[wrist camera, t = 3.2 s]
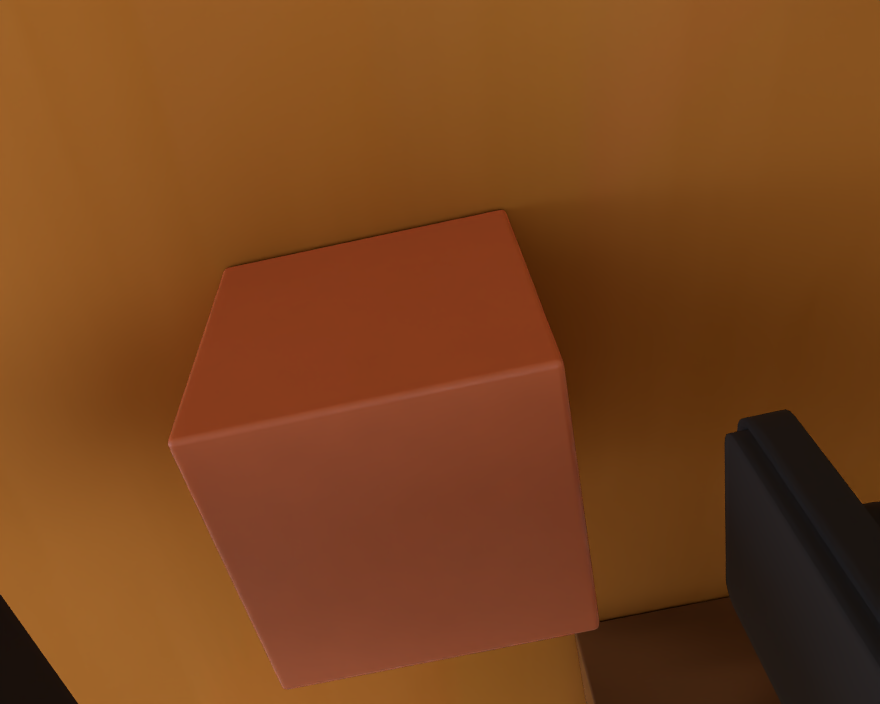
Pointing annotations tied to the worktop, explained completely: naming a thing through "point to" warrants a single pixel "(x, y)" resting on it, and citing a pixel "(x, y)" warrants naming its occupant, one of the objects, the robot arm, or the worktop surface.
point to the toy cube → (389, 453)
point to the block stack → (673, 659)
